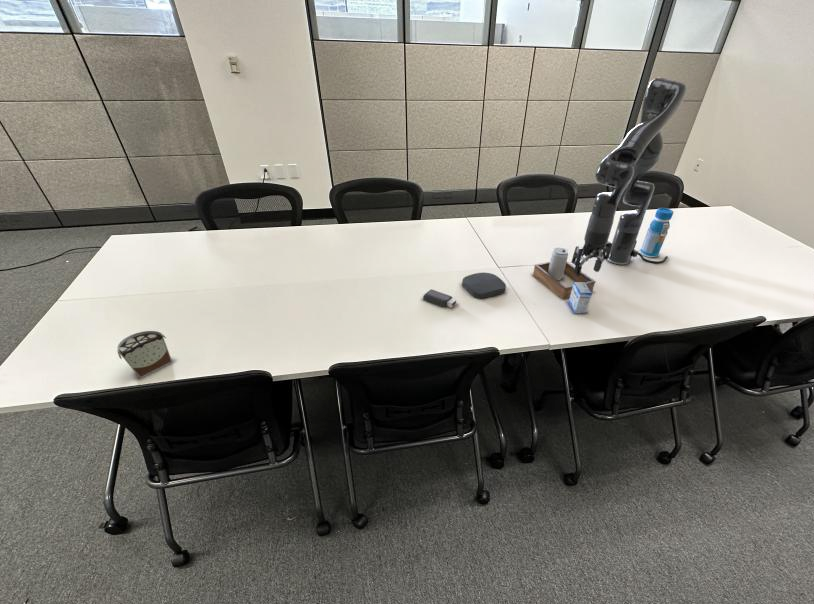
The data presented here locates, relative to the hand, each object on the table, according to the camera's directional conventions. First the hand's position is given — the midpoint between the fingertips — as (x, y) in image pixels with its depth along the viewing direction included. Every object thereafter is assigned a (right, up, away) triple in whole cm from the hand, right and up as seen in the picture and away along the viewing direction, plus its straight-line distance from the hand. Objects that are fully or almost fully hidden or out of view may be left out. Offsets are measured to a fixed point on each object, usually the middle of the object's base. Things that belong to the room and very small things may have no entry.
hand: (586, 272), depth 147 cm
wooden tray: (-2, +2, +23) cm, 23 cm away
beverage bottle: (+45, +21, +47) cm, 68 cm away
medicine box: (0, -11, +9) cm, 14 cm away
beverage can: (-5, +5, +26) cm, 27 cm away
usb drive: (-52, -9, +9) cm, 53 cm away
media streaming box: (-35, -1, +18) cm, 39 cm away
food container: (-137, -34, -24) cm, 143 cm away
